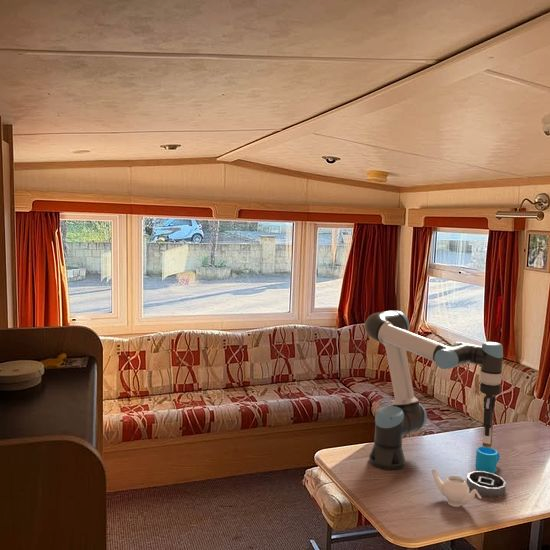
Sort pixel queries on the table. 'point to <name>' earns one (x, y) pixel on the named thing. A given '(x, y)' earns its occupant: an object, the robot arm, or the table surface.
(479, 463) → the mug
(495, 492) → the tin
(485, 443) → the square wooden stick
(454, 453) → the table surface
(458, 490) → the teapot
